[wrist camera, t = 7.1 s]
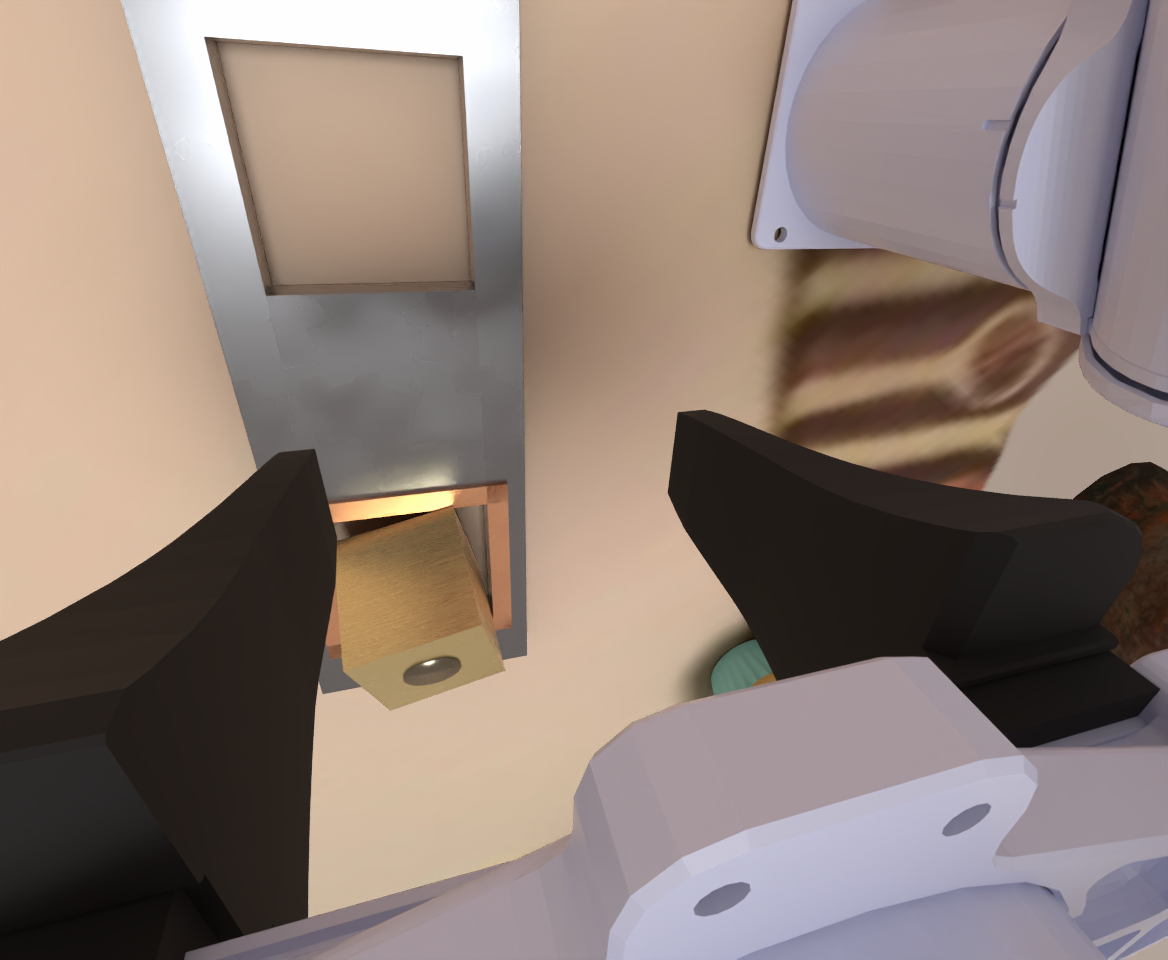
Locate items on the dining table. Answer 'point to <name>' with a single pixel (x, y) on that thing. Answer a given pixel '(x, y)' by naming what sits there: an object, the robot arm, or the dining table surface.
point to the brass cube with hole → (414, 610)
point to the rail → (372, 310)
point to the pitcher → (1164, 574)
